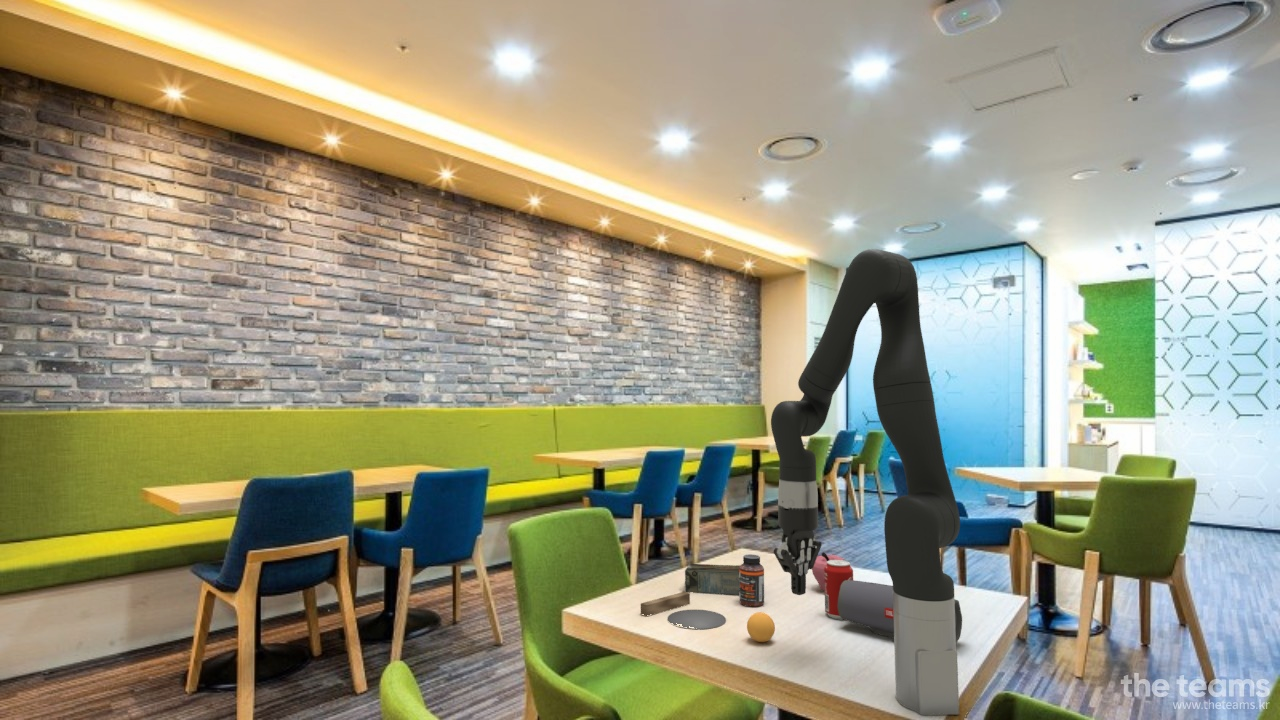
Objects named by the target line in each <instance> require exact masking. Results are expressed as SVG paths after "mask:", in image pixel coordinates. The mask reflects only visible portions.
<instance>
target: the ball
mask: <svg viewBox="0 0 1280 720" xmlns="http://www.w3.org/2000/svg"><path fill="white" fill-rule="evenodd" d="M746 629H747V630H746V631H747V633H748V635H749V637H750V638H751V639H753V640H754V641H755V642H758V643H765V642H768V641H770V640H771V639H772V638H773V637H774V634H775V631H776V626H775V622H774V620H773V619H772V617H771V616H770V615H769V614H767V613H764V612H755V613H753V614H751V615H750V617H748V620H747V622H746Z"/></svg>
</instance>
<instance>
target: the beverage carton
mask: <svg viewBox="0 0 1280 720" xmlns="http://www.w3.org/2000/svg"><path fill="white" fill-rule="evenodd" d="M740 565H741V564H739V565H733V564H732V565H731V564H705V563H704V564H702V563H689V564H688V566H687V567H686V568H685V569H684V587H685V588H684V589H685V590H684V592H686V593H690V592H693V594H694V593H695V594H707V595H708V594H709V595H722V594H726V596H727V595H729V596H739V568H740Z"/></svg>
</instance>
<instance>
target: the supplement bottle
mask: <svg viewBox="0 0 1280 720" xmlns="http://www.w3.org/2000/svg"><path fill="white" fill-rule="evenodd" d="M742 559H743V563H741V564H739V565H740V568H739V595H738V596H739V598H738V599H739V603H740V604H741V605H742V606H746V607H752V608H754V607H755V608H757V607H762V606H764V604H765V568H764V566H763V565H762V564H761V556H759V555H758V554H744V555H743V556H742Z"/></svg>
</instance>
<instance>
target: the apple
mask: <svg viewBox="0 0 1280 720" xmlns="http://www.w3.org/2000/svg"><path fill="white" fill-rule="evenodd" d="M829 560H843V561H845V558H844V557H840V556H838V555H835V554H829V555H828V554H826V553H825V552H824V551H823V552H821V555H818V556H817V559H816V561H815V564H814V566H813V569H811V571H812V575H813V576H814V579H815V581H816V583H818V586H819V587H820V589H821V590H822V591H823V592H825V586H824V567H825V566H826V565H827V561H829Z"/></svg>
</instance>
